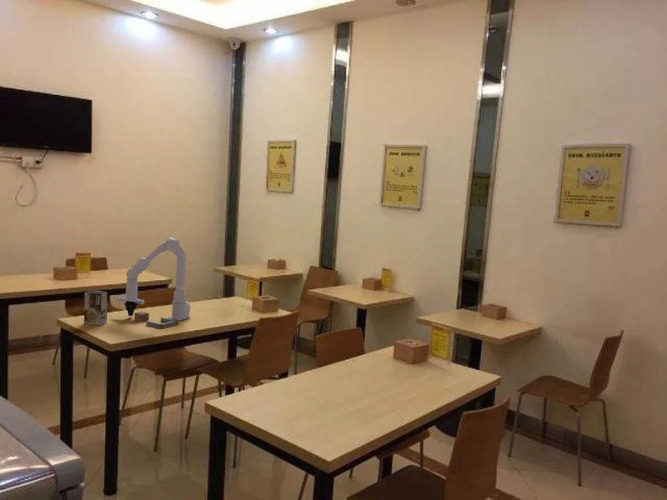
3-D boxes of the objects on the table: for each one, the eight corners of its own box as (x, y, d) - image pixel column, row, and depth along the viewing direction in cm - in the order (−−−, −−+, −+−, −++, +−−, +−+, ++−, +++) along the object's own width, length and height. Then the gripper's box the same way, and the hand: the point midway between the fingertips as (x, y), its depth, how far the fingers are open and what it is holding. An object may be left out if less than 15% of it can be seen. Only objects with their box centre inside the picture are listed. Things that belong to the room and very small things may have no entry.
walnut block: (141, 318, 289) (141, 311, 289) (148, 320, 287) (148, 313, 287) (134, 320, 285) (134, 312, 285) (141, 322, 283) (141, 314, 282)
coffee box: (107, 322, 275) (108, 291, 274) (100, 325, 269) (101, 293, 267) (90, 320, 276) (91, 289, 274) (83, 323, 270) (84, 291, 268)
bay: (162, 320, 288) (162, 317, 288) (177, 324, 284) (177, 320, 284) (146, 325, 277) (146, 321, 277) (161, 328, 273) (161, 324, 273)
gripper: (148, 291, 290) (147, 316, 291) (124, 287, 293) (123, 312, 295) (140, 293, 283) (139, 318, 285) (116, 289, 287) (115, 315, 288)
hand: (130, 315), depth 289 cm, fingers closed
